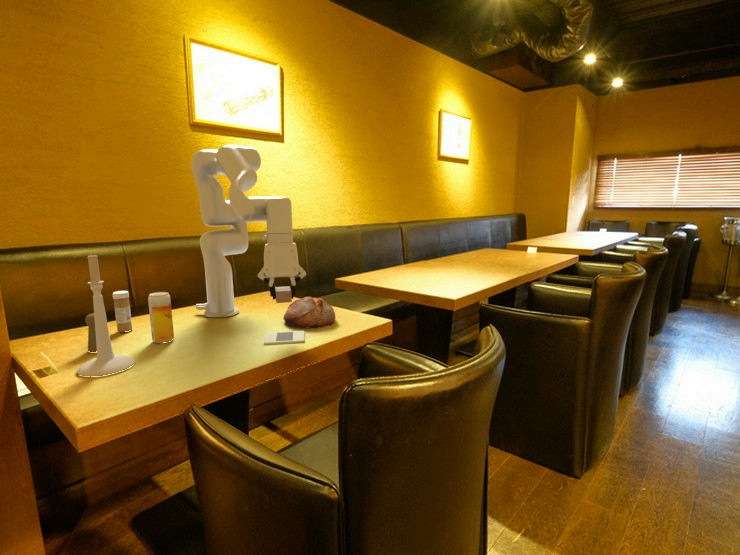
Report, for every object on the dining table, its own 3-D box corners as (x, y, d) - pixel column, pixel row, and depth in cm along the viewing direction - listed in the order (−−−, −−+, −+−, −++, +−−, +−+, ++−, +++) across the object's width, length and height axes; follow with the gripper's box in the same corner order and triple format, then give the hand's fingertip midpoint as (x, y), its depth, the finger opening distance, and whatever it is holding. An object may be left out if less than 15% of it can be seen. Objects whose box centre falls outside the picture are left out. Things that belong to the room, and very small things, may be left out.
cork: (86, 355, 121) (81, 317, 119) (89, 348, 126) (84, 312, 124) (111, 351, 123) (106, 314, 121) (112, 345, 129) (108, 309, 127)
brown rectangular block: (275, 298, 134) (274, 287, 133) (289, 297, 135) (289, 286, 134) (276, 303, 127) (275, 291, 127) (291, 302, 128) (291, 290, 128)
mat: (263, 344, 128) (263, 342, 128) (266, 334, 138) (266, 332, 137) (304, 342, 130) (304, 340, 129) (304, 332, 139) (304, 330, 139)
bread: (325, 334, 141) (323, 305, 138) (273, 328, 147) (271, 300, 145) (345, 318, 155) (343, 292, 153) (297, 313, 162) (295, 288, 160)
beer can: (177, 340, 132) (173, 293, 129) (157, 345, 128) (152, 297, 125) (169, 336, 136) (165, 290, 133) (149, 341, 132) (144, 294, 129)
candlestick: (71, 381, 103) (53, 258, 97) (83, 363, 115) (67, 252, 109) (132, 372, 108) (118, 255, 102) (136, 356, 120) (124, 249, 114)
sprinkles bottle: (126, 328, 145) (121, 289, 143) (136, 330, 143) (131, 290, 141) (113, 332, 141) (108, 292, 138) (123, 334, 139) (119, 293, 137)
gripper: (249, 240, 123) (253, 302, 126) (309, 239, 125) (311, 299, 129) (252, 238, 130) (256, 296, 133) (308, 237, 133) (310, 294, 136)
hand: (283, 297), depth 131 cm, fingers closed on brown rectangular block, 4 cm apart
